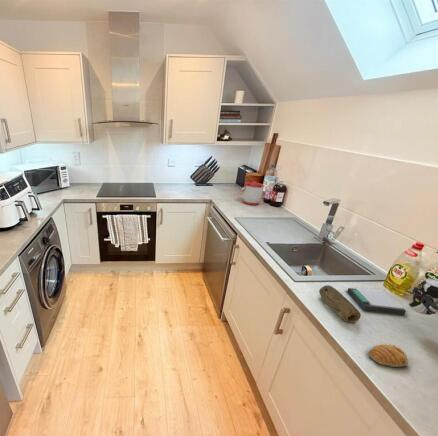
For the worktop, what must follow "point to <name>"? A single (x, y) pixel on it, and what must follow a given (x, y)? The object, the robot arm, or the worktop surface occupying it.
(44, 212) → the worktop surface
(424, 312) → the beverage can
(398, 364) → the pastry
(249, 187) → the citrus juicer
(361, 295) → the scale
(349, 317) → the brown rough cylinder
